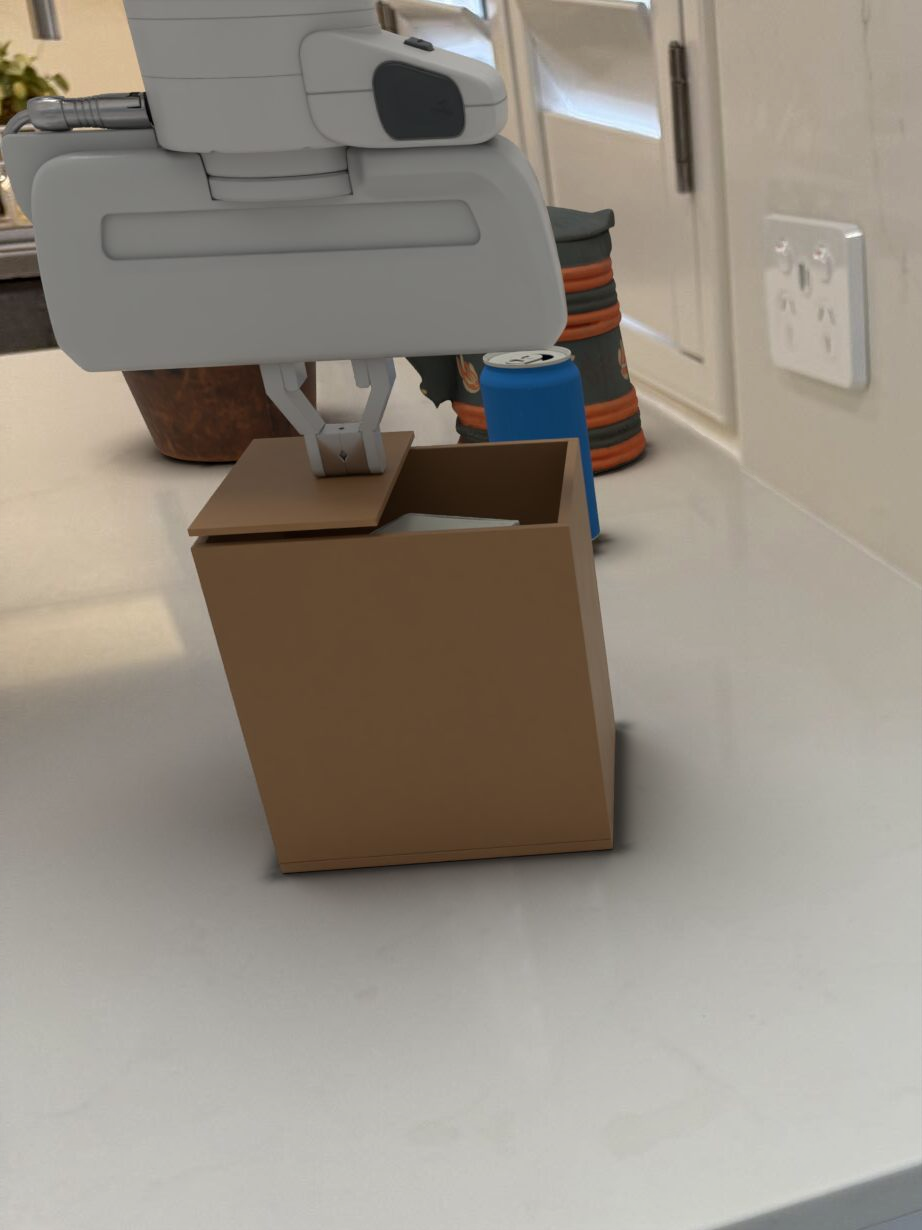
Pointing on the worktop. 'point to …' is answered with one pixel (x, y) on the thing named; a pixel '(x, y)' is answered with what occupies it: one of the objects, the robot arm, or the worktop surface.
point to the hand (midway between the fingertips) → (351, 472)
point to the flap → (297, 491)
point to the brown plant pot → (211, 409)
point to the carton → (426, 668)
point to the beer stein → (584, 335)
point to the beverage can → (538, 405)
